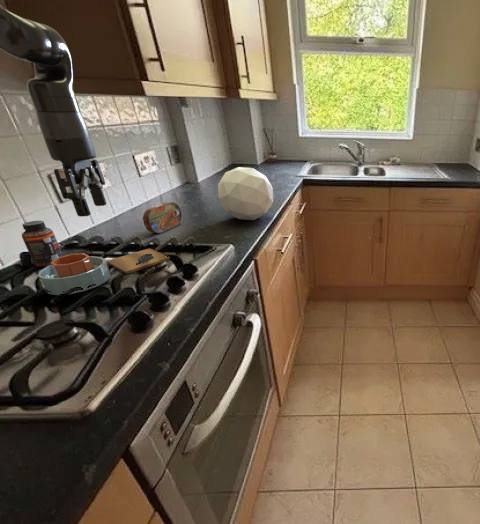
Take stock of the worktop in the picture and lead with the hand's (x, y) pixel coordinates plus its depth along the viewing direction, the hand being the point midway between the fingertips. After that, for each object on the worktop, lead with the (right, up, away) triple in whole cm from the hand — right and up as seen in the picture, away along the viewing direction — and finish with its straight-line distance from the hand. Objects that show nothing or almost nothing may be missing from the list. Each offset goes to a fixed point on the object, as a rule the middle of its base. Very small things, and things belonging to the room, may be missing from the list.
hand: (93, 210), depth 76 cm
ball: (+18, +5, +51) cm, 54 cm away
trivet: (+1, -12, +14) cm, 19 cm away
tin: (-7, 0, +38) cm, 39 cm away
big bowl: (-5, -17, +3) cm, 18 cm away
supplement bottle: (-22, -12, +13) cm, 28 cm away
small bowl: (-5, -17, +2) cm, 18 cm away
